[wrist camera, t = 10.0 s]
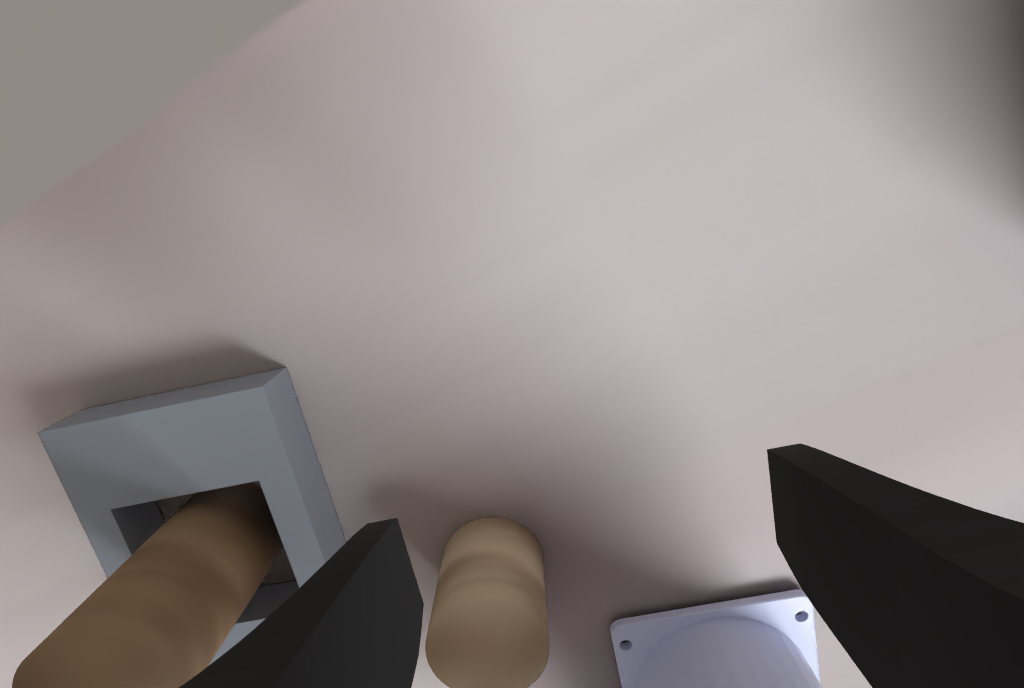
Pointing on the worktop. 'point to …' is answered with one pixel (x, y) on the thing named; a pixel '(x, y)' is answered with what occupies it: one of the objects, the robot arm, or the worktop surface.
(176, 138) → the worktop surface
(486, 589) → the short dowel
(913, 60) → the worktop surface
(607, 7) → the worktop surface
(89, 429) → the board
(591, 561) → the worktop surface
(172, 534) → the long dowel
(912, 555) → the robot arm
